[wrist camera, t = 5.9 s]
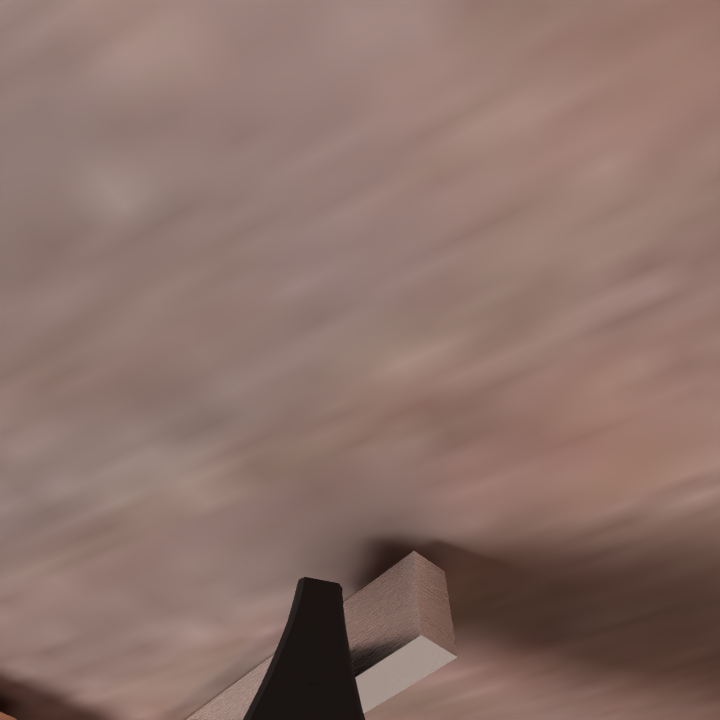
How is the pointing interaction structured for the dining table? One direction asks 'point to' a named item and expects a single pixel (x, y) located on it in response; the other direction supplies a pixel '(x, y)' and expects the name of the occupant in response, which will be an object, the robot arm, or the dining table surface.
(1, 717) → the light orange square block
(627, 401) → the dining table surface
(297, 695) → the robot arm
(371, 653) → the bar
